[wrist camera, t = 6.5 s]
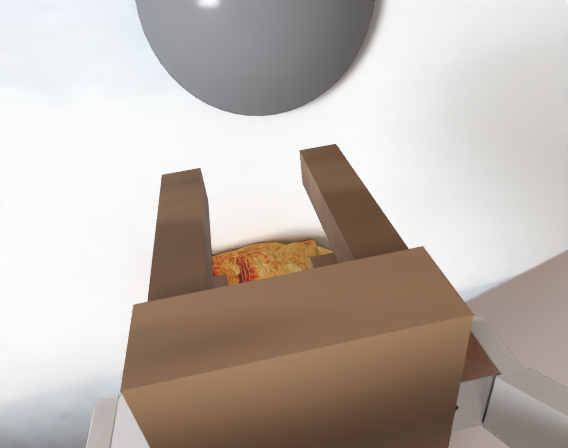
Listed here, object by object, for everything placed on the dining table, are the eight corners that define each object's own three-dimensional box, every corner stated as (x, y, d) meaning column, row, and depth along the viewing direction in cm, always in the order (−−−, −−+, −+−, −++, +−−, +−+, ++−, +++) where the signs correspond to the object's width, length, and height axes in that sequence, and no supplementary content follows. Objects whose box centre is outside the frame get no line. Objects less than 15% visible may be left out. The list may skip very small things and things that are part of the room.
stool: (346, 277, 18) (440, 484, 11) (196, 308, 17) (200, 544, 10) (341, 137, 14) (473, 314, 8) (153, 170, 14) (120, 390, 7)
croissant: (381, 240, 43) (431, 249, 35) (371, 342, 43) (419, 374, 36) (153, 225, 37) (154, 233, 29) (145, 344, 37) (143, 383, 29)
